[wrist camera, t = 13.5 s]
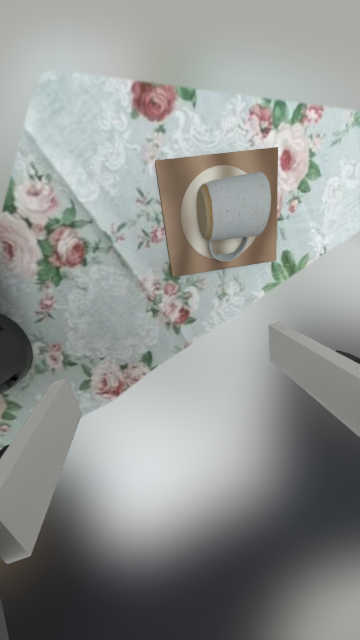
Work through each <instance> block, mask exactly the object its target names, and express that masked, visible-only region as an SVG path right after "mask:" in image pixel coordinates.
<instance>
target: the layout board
mask: <svg viewBox="0 0 360 640" xmlns="http://www.w3.org/2000/svg"><path fill="white" fill-rule="evenodd" d="M155 166H156V172H157V179H158V186H159V192H160V199H161V206H162V212H163V219H164V226H165V232H166V239H167V246H168V253H169V259H170V266H171V273H172V277H175V276H181V275H188V274H194V273H200V272H206V271H213V270H219V269H225V268H231V267H238V266H244V265H250V264H257V263H263V262H269V261H275V260H276V237H277V174H278V147H275V148H266V149H257V150H248V151H239V152H229V153H220V154H211V155H202V156H193V157H184V158H175V159H165V160H156V161H155ZM253 172H262V173H264V174H265V176H266V177H267V179H268V181H269V185H270V191H271V209H270V214H269V218H268V222H267V225H266V227H265V229H264V230H263V232H262V233H261V234H260V235H257V236H252V237H249V239H248V242H247V245H246V247H245V249H244V250H243V252H242V253H241V254H240V255H239V256H238V257H237V258H235V259H233V260H230V261H219V260H217V259H215V258H214V257H213V256H212V255H211V253H210V251H209V249H208V245H207V240H206V239H204V238H203V237H202V235H201V233H200V229H199V225H198V219H197V192H198V189H199V188H200V186H201V185H202V184H204V183H206V182H209V181H212V180H216V179H222V178H228V177H232V176H237V175H243V174H249V173H253ZM241 241H242V238H233V239H225V240H218V241H212V250H213V252H214V253H215V254H218V253H220V254H230V253H233V252H234V251H235V250H236V249H237V248H238V247H239V245H240V243H241Z"/></svg>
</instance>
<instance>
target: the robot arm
mask: <svg viewBox="0 0 360 640" xmlns="http://www.w3.org/2000/svg"><path fill="white" fill-rule="evenodd" d="M269 345H270V361H271V362H273V363H274V364H275V365H276V366H277V367H279V368H280V369H281V370H282V371H283V372H285V374H287V375H288V376H289V377H290V378H291V379H293V380H294V381H295V382H296V383H297V384H299V385H300V386H301V387H302V388H303V389H304V390H305V391H307V392H308V393H309V394H310V395H311V396H312V397H314V398H315V399H316V400H317V401H318V402H319V403H321V404H322V405H323V406H324V407H325V408H326V409H328V410H329V411H330V412H331V413H332V414H334V415H335V416H336V417H337V418H338V419H339V420H340V421H342V422H343V423H344V424H345V425H346V426H348V427H349V428H350V429H351V430H352V431H353V432H354V433H356V434H357V435H358V436H359V437H360V359H359V358H357V357H355V356H353V355H351V354H349V353H345V352H342V351H338V350H337V351H333V350H331V349H330V348H328V347H326V346H324V345H322V344H320V343H318V342H316V341H314V340H312V339H310V338H309V337H306V336H305V335H303V334H301V333H299V332H297V331H295V330H293V329H291V328H289V327H287V326H286V325H284V324H282V323H280V322H278V323H274V324H270V325H269ZM31 362H32V349H31V345H30V343H29V340H28V338H27V337H26V335H25V334H24V332H23V331H22V330H21V328H20V327H19V326H18V325H17V324H15V323H14V322H13V321H12V320H10V319H9V318H8V317H6V316H4V315H2V314H0V394H1V393H3V392H5V391H7V390H9V389H10V388H12V387H13V386H14V385H16V384H17V383H18V382H19V381H20V380H21V379H22V378H23V377H24V376H25V374H26V373H27V372H28V370H29V368H30V366H31ZM81 415H82V412H81V410H80V407H79V405H78V403H77V401H76V399H75V397H74V395H73V392H72V390H71V388H70V386H69V384H68V382H67V380H66V378H64V379H60V380H56V381H53V382H52V383H51V385H50V386H49V387H48V389H47V390H46V392H45V393H44V395H43V396H42V398H41V399H40V401H39V402H38V404H37V405H36V407H35V408H34V410H33V411H32V413H31V414H30V416H29V417H28V419H27V420H26V422H25V423H24V424H23V426H22V427H21V429H20V430H19V432H18V433H17V435H16V436H15V438H14V439H13V441H12V442H11V444H10V445H7V446H5V447H4V448H3V449H2V450H0V557H1V558H2V559H3V560H4V561H5V562H6V563H7V564H8V563H11V562H14V561H17V560H20V559H23V558H26V557H29V556H31V553H32V550H33V547H34V545H35V542H36V539H37V536H38V533H39V531H40V528H41V525H42V522H43V519H44V517H45V514H46V511H47V509H48V506H49V503H50V501H51V498H52V495H53V492H54V490H55V487H56V484H57V481H58V478H59V476H60V473H61V470H62V467H63V465H64V462H65V459H66V456H67V453H68V451H69V448H70V445H71V442H72V440H73V437H74V434H75V431H76V429H77V426H78V423H79V421H80V418H81ZM0 640H9V638H8V633H7V628H6V623H5V618H4V613H3V608H2V603H1V598H0Z"/></svg>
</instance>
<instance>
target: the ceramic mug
mask: <svg viewBox="0 0 360 640" xmlns="http://www.w3.org/2000/svg"><path fill="white" fill-rule="evenodd" d="M270 209H271V191H270V185H269V181H268V179H267V177H266V176H265V174H264V173H262V172H253V173H249V174H243V175H237V176H232V177H228V178H222V179H216V180H212V181H209V182H206V183H204V184H202V185H201V186H200V188H199V189H198V192H197V219H198V225H199V229H200V233H201V235H202V237H203V238H204V239H206V240H207V245H208V249H209V251H210V253H211V255H212V256H213V257H214V258H215V259H217V260H219V261H230V260H233V259H235V258H237V257H238V256H239V255H240V254H241V253H242V252H243V250H244V249H245V247H246V245H247V242H248V239H249V237H252V236H257V235H260V234H261V233H262V232H263V230H264V229H265V227H266V225H267V222H268V218H269V214H270ZM233 238H242V241H241V243H240V245H239V247H238V248H237V249H236V250H235V251H234V252H233V253H230V254H220V253H218V254H215V253H214V252H213V250H212V241H218V240H225V239H233Z"/></svg>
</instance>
